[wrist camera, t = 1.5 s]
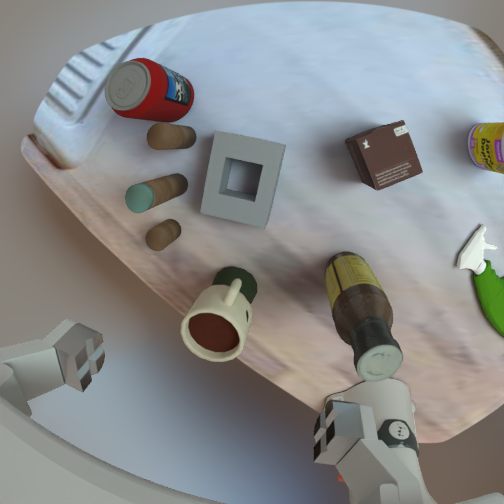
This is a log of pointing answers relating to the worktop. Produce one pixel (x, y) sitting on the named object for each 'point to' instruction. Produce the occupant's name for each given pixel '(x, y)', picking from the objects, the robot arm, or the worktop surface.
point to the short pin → (163, 234)
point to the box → (384, 155)
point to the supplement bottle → (487, 146)
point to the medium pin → (170, 136)
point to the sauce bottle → (362, 316)
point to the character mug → (221, 316)
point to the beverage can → (148, 91)
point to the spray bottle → (484, 278)
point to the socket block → (234, 202)
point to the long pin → (155, 192)
